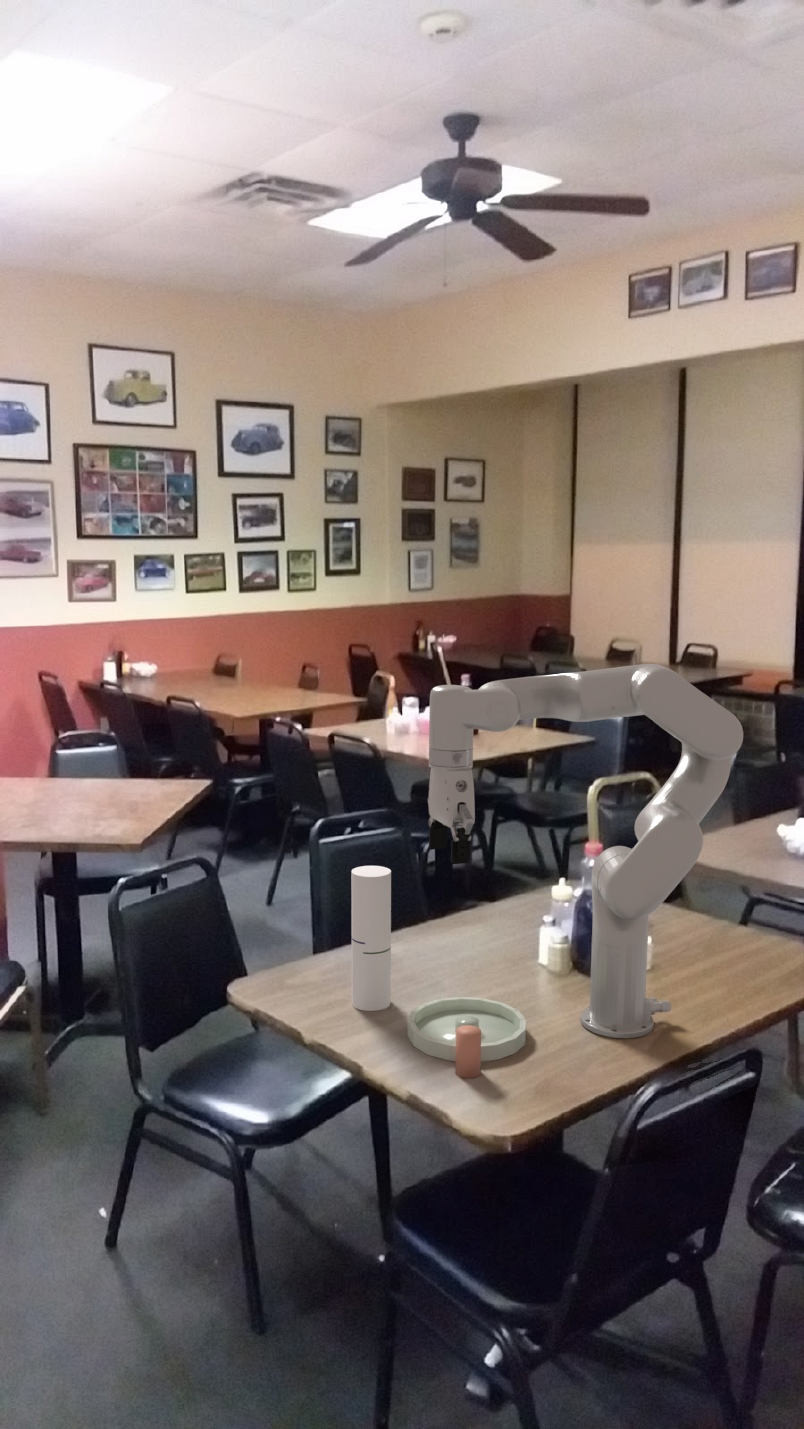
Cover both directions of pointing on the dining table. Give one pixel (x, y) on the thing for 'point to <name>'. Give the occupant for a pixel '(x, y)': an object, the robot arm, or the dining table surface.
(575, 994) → the dining table surface
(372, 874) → the cylindrical container
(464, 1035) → the orange cylinder
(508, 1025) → the groove tray
